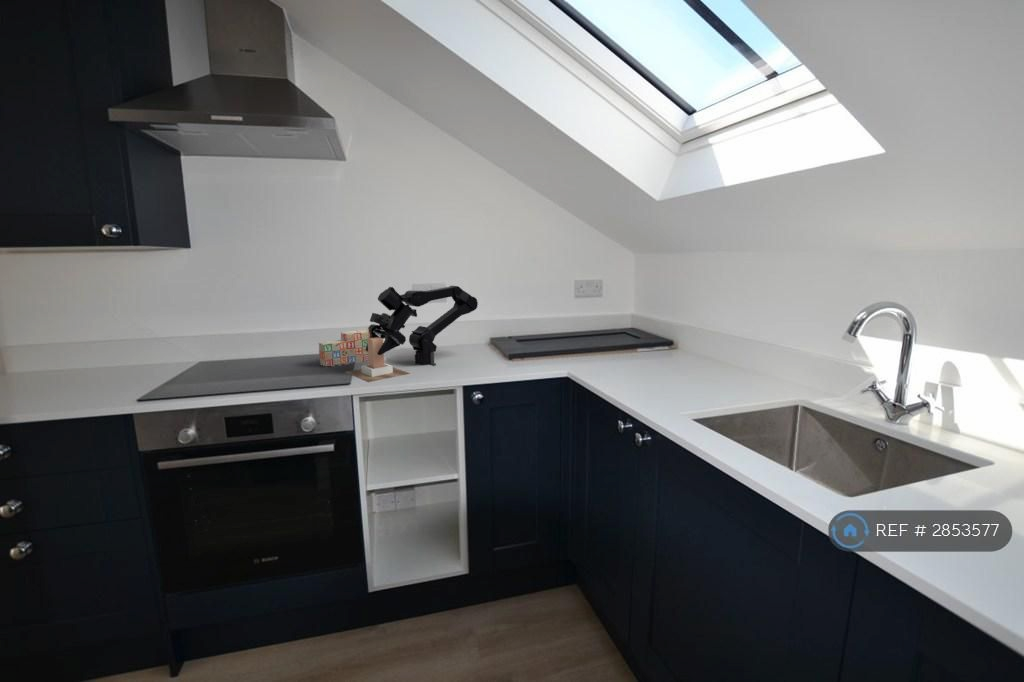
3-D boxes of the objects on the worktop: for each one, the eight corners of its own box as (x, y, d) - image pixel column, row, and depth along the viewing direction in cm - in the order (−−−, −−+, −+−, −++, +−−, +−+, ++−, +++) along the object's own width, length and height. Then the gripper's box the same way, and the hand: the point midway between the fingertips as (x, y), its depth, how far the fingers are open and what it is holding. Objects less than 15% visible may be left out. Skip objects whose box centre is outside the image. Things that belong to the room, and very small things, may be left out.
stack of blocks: (325, 368, 183) (322, 336, 181) (320, 365, 188) (317, 334, 186) (377, 359, 197) (375, 330, 194) (371, 357, 201) (369, 328, 199)
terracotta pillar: (379, 370, 173) (377, 337, 171) (385, 372, 170) (382, 338, 168) (369, 372, 170) (367, 338, 168) (374, 374, 167) (372, 340, 165)
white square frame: (382, 368, 176) (381, 362, 175) (392, 372, 170) (392, 365, 169) (361, 372, 170) (361, 365, 170) (372, 376, 165) (371, 369, 164)
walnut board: (385, 367, 183) (385, 364, 182) (410, 376, 169) (410, 373, 169) (345, 375, 172) (344, 371, 172) (368, 385, 158) (368, 382, 158)
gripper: (371, 302, 175) (344, 335, 170) (396, 306, 161) (367, 342, 156) (391, 321, 182) (366, 353, 177) (417, 326, 168) (391, 362, 163)
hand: (372, 352), depth 168 cm, fingers open, 9 cm apart
